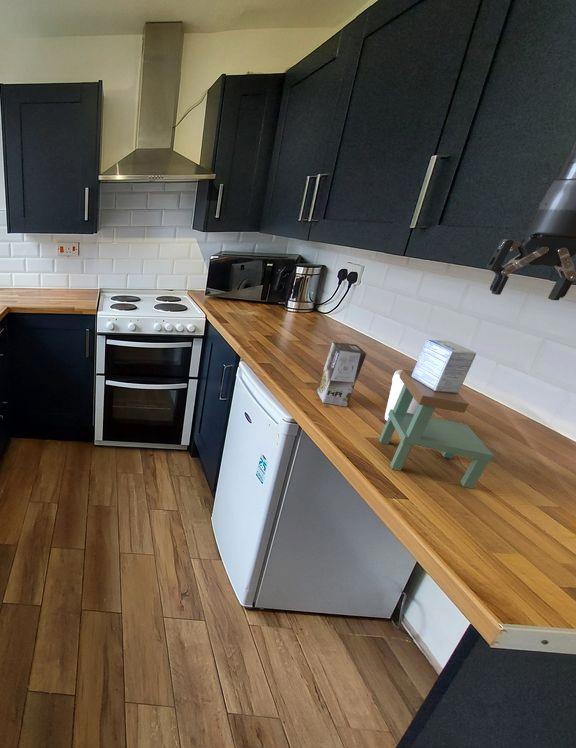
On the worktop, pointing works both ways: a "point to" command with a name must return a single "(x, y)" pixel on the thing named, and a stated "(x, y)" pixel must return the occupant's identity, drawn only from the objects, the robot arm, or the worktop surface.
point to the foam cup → (394, 395)
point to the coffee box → (340, 373)
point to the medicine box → (443, 365)
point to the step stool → (433, 428)
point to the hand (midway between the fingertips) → (523, 296)
